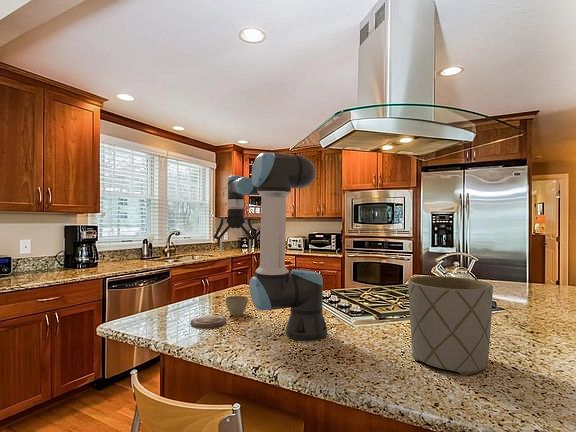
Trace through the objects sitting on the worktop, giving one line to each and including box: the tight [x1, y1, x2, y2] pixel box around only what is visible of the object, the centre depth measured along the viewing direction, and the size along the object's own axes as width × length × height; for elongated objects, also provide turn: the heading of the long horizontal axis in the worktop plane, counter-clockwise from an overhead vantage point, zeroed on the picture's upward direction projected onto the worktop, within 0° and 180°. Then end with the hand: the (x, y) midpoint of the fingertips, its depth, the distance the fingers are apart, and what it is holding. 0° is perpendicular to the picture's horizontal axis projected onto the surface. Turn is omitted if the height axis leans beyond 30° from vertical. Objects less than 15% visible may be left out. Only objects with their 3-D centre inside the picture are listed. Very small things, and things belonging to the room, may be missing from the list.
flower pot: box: [224, 295, 249, 317], centre depth 152 cm, size 10×10×7 cm
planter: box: [407, 275, 494, 377], centre depth 103 cm, size 23×23×24 cm
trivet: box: [190, 314, 227, 329], centre depth 139 cm, size 14×14×2 cm
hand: (235, 253), depth 163 cm, fingers open, 13 cm apart
